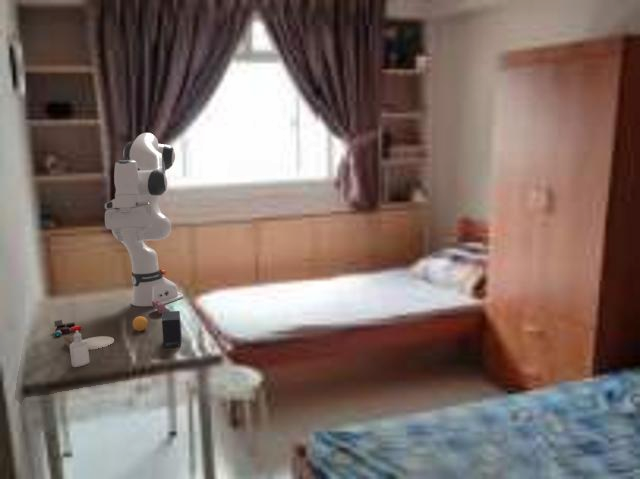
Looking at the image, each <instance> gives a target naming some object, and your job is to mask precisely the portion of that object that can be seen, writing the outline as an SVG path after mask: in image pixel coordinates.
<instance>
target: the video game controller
mask: <svg viewBox="0 0 640 479" xmlns="http://www.w3.org/2000/svg"><path fill="white" fill-rule="evenodd" d="M151 307H152V308H155V309H156V310H157V313H158V314H160V315H163V312H169V311H171V310H170V309H168V308H167V307H166V304H162V303H161V301H160V300H153V301H152V306H151Z"/></svg>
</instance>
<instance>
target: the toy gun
mask: <svg viewBox="0 0 640 479" xmlns="http://www.w3.org/2000/svg"><path fill="white" fill-rule="evenodd" d="M53 322H54V327H55V332H54V335H53V336H54V337H55V338H57V337H59V338H60V337H62V335H68V334H70V333H74V332H75V333H76V330H78V332H79V331H81V330H82V325H79V324H78V325H76V324H75V322H74V321H73V322H67V323H63V319H59V320H54V321H53Z"/></svg>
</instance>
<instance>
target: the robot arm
mask: <svg viewBox="0 0 640 479" xmlns="http://www.w3.org/2000/svg"><path fill="white" fill-rule="evenodd" d="M122 154H123V155H122V156H123V160H117V161H116V162H115V163H114V172H113V173H114V175H113V178H114V179H113V182H114V187H115V193H114V198H113V199H112V200H110V201H108V202H106V203H105V204H104V209H105V211H104V226H105V228H106V229H107V230H111V233H112V235H113V237H114V238H115V239H116V241H117V242H121V243H122V244H123V245H124V247H125V248H126V250H127V252H128V254H129V257H130V263H131V268H132V269H131V282H132V285H133V291H132V292H133V293H132V300H131V305H133V306H134V307H135V306H136V307H152V301H153V300H160V301H161V303H162V304H164V305H166V304H168V303H172V302H174V301H175V302H176V301H178V300H181V299H183V298H184V294H183V293H181V292H179V291H178V288H177V285H176V284H175V283H174V282H173V281H171V280H169V279H167V278H166V277H164V276H166V275H167V273H168V272H167V270H165V269H160V268H159V262H158V261H159V260H158V254H157V252H156V251H155V250H154V249H153V248H151V247H149V246H147V244H146V243H145V242H144V241H159V240H163V239H167V238H168V237H169V236H170V234H171V233H172V222H171V220H170V219H169V218H168V216H166V215H165V214H163V212H162V211H161V209H160V196H162V195H163V194H164V193H166V191H167V189H168V180H167V176H166V171H167V170H169V169H171V168H172V166H173V165H174V163H175V160H176V153H175V150H174V147H173V146H172V145H169V144H163V143H162V144H161V143H159V139H158V138H157V137H156V136H155V135H154V134H152V133H151V132H143V133H141V134H139V135H138V136H137V137H136V138H135V140H132V141H129V142H127V143H126V144H125V146H124V148H123V153H122ZM163 275H164V276H163Z"/></svg>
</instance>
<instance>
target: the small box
mask: <svg viewBox="0 0 640 479" xmlns="http://www.w3.org/2000/svg"><path fill="white" fill-rule="evenodd" d="M161 315H162V317H161V330H162V341H163V344H162V345H163V349H168V348H178V347H179V348H180V347H182V320H181V312H180V310H172V311H171V310H170V311H169V312H163V313H162V314H161Z"/></svg>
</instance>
